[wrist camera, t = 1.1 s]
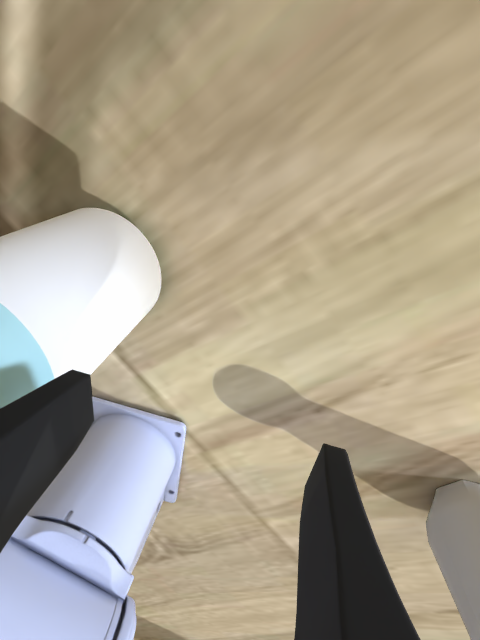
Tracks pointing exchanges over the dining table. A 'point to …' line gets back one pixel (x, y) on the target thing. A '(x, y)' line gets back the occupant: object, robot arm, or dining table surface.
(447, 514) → the salt shaker
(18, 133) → the dining table surface
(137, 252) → the can
